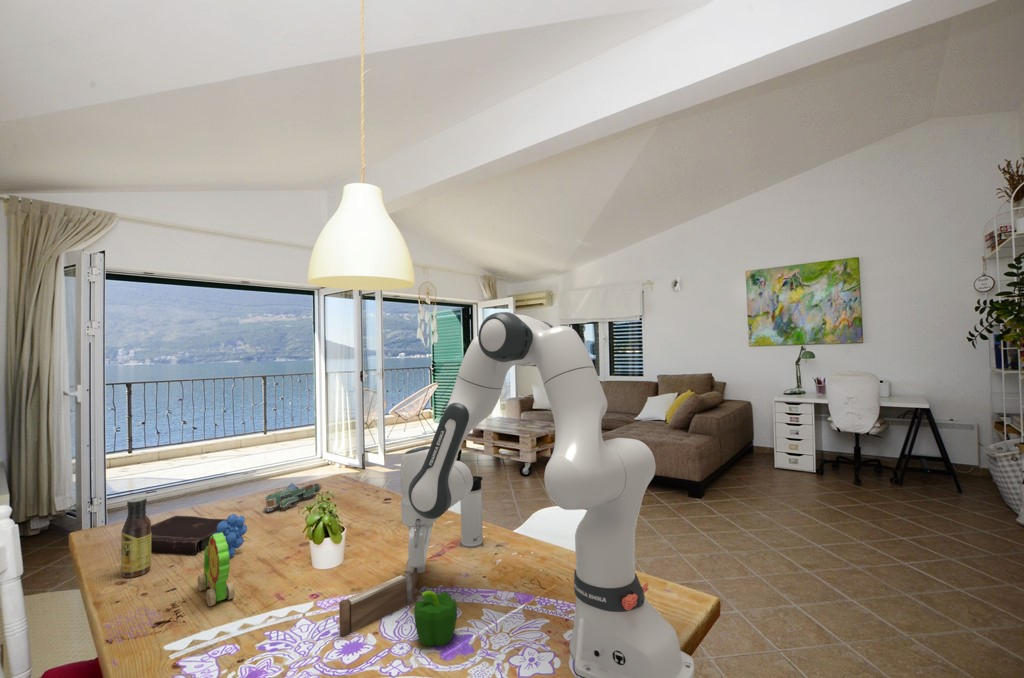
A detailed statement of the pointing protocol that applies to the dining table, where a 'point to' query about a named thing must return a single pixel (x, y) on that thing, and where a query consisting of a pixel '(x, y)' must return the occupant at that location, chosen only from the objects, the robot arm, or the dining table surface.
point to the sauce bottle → (136, 540)
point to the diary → (182, 535)
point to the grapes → (233, 532)
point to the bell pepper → (435, 618)
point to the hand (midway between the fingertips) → (421, 569)
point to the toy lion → (216, 570)
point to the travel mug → (472, 516)
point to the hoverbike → (290, 496)
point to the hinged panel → (414, 576)
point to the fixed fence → (374, 604)
